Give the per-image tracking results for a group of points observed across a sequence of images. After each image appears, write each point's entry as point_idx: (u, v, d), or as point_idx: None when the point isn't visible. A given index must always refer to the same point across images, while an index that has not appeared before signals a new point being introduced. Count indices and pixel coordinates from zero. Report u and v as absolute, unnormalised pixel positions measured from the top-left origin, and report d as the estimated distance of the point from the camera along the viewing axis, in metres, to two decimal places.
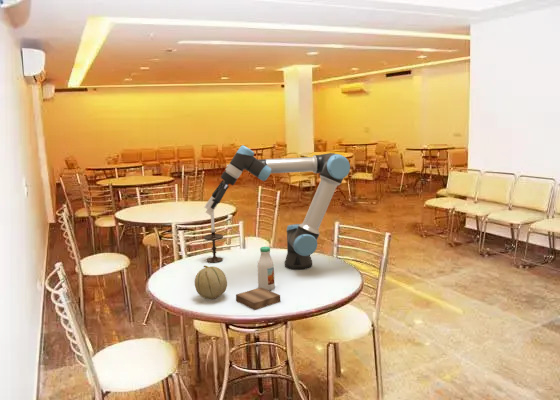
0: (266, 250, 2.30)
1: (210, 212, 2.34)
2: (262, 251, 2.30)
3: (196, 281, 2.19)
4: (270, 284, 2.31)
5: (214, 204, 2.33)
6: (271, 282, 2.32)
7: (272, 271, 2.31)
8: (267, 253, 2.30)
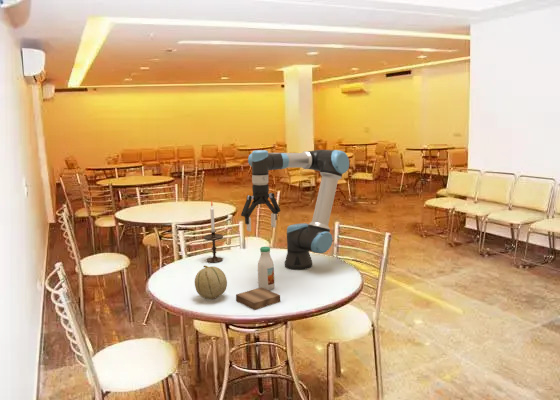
0: (266, 250, 2.30)
1: None
2: (262, 251, 2.30)
3: (196, 281, 2.19)
4: (270, 284, 2.31)
5: None
6: (271, 282, 2.32)
7: (272, 271, 2.31)
8: (267, 253, 2.30)
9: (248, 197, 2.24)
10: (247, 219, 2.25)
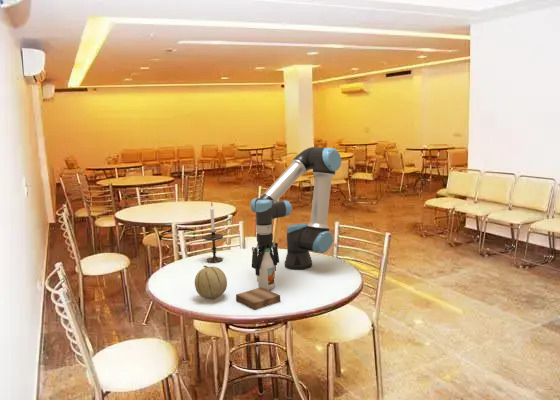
0: (266, 250, 2.30)
1: None
2: None
3: (196, 281, 2.19)
4: (270, 284, 2.31)
5: None
6: (271, 282, 2.32)
7: (272, 271, 2.31)
8: (267, 253, 2.30)
9: (253, 249, 2.27)
10: (258, 271, 2.30)
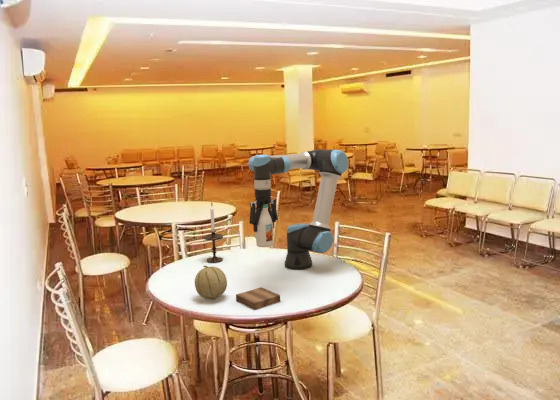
0: (264, 206, 2.26)
1: None
2: None
3: (196, 281, 2.19)
4: (268, 241, 2.27)
5: None
6: (269, 239, 2.28)
7: (270, 228, 2.27)
8: (265, 209, 2.26)
9: (251, 205, 2.23)
10: (255, 227, 2.26)
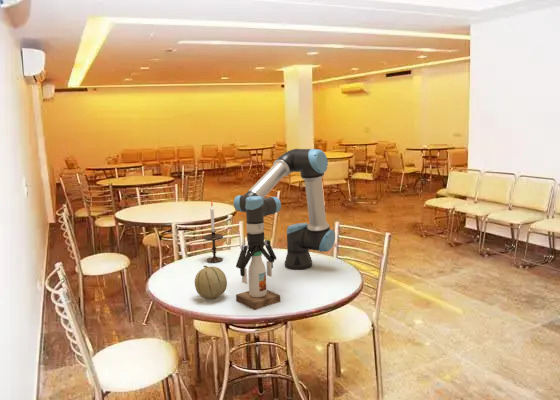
0: (257, 254, 2.13)
1: None
2: (253, 255, 2.13)
3: (196, 281, 2.19)
4: (261, 290, 2.14)
5: None
6: (262, 288, 2.15)
7: (264, 276, 2.14)
8: (258, 257, 2.13)
9: (243, 247, 2.10)
10: (243, 271, 2.11)
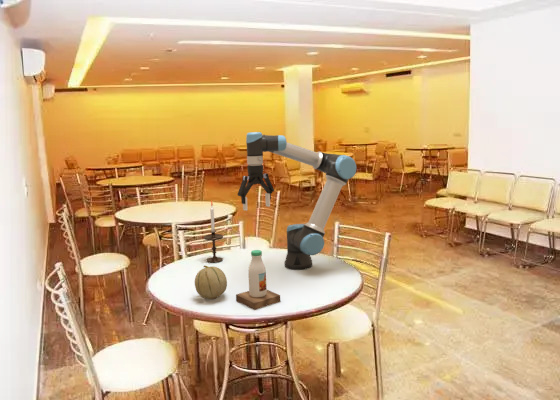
0: (257, 254, 2.13)
1: None
2: (253, 255, 2.13)
3: (196, 281, 2.19)
4: (261, 290, 2.14)
5: None
6: (263, 288, 2.15)
7: (264, 276, 2.15)
8: (258, 257, 2.13)
9: (244, 177, 2.33)
10: (243, 199, 2.33)
